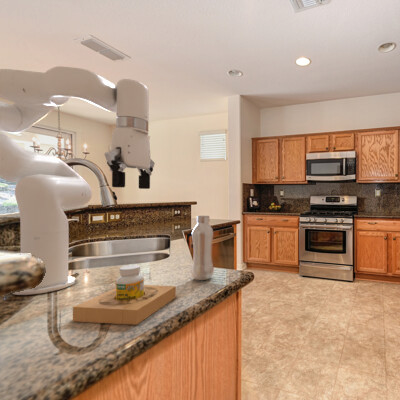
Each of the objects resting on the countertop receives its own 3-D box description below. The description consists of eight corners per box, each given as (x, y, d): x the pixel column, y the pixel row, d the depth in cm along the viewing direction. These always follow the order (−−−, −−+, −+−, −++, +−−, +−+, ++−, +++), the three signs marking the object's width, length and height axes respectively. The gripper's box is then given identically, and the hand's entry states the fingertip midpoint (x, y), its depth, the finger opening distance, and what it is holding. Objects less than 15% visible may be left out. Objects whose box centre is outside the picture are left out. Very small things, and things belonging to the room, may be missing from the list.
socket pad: (72, 321, 52) (72, 306, 52) (124, 295, 66) (124, 284, 66) (136, 324, 51) (136, 310, 51) (175, 297, 65) (175, 286, 65)
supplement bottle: (147, 302, 62) (147, 263, 62) (138, 312, 57) (138, 269, 57) (122, 304, 61) (122, 264, 61) (110, 314, 55) (111, 270, 55)
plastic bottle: (206, 283, 76) (207, 217, 76) (186, 281, 78) (187, 216, 77) (217, 276, 83) (218, 215, 82) (199, 275, 84) (199, 215, 84)
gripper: (141, 134, 80) (141, 189, 80) (92, 117, 63) (92, 186, 63) (164, 134, 79) (163, 189, 79) (121, 117, 62) (120, 186, 62)
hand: (132, 188), depth 71 cm, fingers open, 9 cm apart
